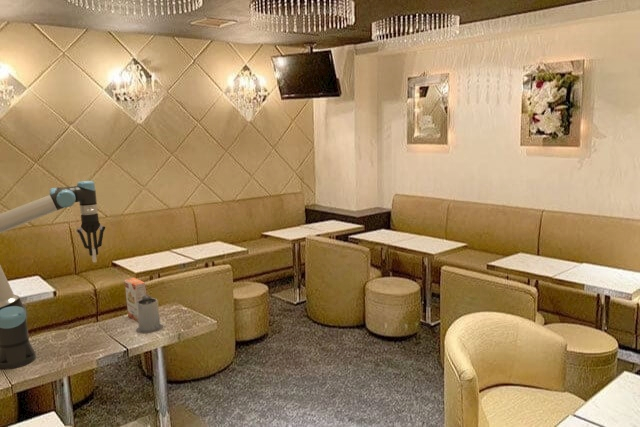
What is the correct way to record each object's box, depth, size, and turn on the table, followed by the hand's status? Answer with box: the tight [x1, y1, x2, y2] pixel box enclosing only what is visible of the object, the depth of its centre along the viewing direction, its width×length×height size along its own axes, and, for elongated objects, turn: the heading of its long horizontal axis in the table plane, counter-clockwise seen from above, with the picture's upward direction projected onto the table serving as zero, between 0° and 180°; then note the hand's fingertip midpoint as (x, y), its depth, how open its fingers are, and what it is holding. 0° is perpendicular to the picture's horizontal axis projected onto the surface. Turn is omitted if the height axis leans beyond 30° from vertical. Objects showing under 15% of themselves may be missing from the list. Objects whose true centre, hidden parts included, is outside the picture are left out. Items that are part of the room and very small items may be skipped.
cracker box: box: [124, 277, 147, 322], centre depth 278 cm, size 14×6×21 cm, turn 42°
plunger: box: [142, 294, 152, 304], centre depth 261 cm, size 7×7×12 cm
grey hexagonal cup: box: [136, 297, 161, 332], centre depth 262 cm, size 10×10×14 cm
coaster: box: [135, 323, 164, 335], centre depth 263 cm, size 13×13×1 cm
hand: (94, 261), depth 255 cm, fingers closed
